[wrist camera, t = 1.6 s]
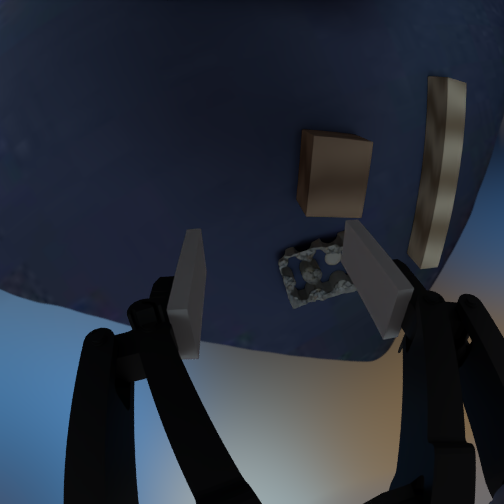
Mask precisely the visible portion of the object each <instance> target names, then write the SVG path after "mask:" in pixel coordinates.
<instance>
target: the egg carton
mask: <svg viewBox="0 0 504 504" xmlns="http://www.w3.org/2000/svg"><path fill="white" fill-rule="evenodd" d="M344 233H345V231H342V232H339V233H337V237H336V239H335V240H334V241H333V242H331V243H328V244H327V243H323V242H322V241H321V240H320V239H317V240H315V241H313V242H312V243H311V246H310V248H309V249H308V250H306V251H303V252H299V251H297V250H295V248H294V247H291V248H288V249H286V250H285V255H284V256H283V257H282V258H281V259H279V262H278V264H279V269H280V272H281V275H282V277H283V281H284V284H285V287H286V291H287V293H288V298H289V300H290V303H291V305H292V307H293V309H296V308H298V307H300V306H302V305H305V304H307V303H308V302H311V301H313V302H315V301H316V300H322V301H323V300H325V299H327V298H330V297H334V296H337V295H339V294H343V293H349V292H354V291H357V289H356V287H355V286H354V284H353V282H352V280H351V278H350V277H349V275H346V274H345V273H344V272H343V271H335V272H334V273H332V274H331V276H330V278H329V281H327V282H324V283H322V282H321V281H320V279H321V278H322V272H321V270H320V268H319V266H318V264H317V262H316V260H315V259H313V258H312V257H313V255H314V254H315V252H316V249H320V250H322V251H323V252H325V253H326V256H325V261H326V263H327V264H329V265H336V264H338V263H339V262H340V260H341V258H342V254H341V251H342V250H343V242H344ZM292 256H296V258H298V259H300V260H303V261H302V262H301V263H300V267H299V268H300V271H301V274H302V276H303V279H304V281H306V282H307V283H306V285H305V289H302V290H297V289H296V288H295V287H294V285H295V284H296V281H295V279H294V276H293V273H292V270H291V269H290V268H289V267H287V264H288V258H290V257H292Z"/></svg>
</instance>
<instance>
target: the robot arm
mask: <svg viewBox="0 0 504 504" xmlns="http://www.w3.org/2000/svg"><path fill="white" fill-rule="evenodd" d="M341 263H342V264H343V266H344V268H345V270H346V271H347V273H348V275H349V277H350V278H351V280H352V282H353V284H354V286H355V287H356V289H357V291H358V293H359V295H360V296H361V298H362V300H363V302H364V304H365V306H366V307H367V309H368V311H369V313H370V315H371V317H372V319H373V321H374V323H375V324H376V326H377V328H378V330H379V332H380V334H381V336H382V338H383V339H389V338H394V337H398V335H399V332H400V329H401V327H402V329H403V330H404V332H405V335H404V337H403V340H402V343H401V345H400V347H399V350H398V353H400V352H401V349H402V348H403V396H402V397H403V398H402V417H401V432H400V443H399V453H398V462H397V469H396V474H395V476H394V478H393V480H392V482H391V485H390V488H389V491H387V492H384V493H382V494H380V495H378V496H376V497H375V498H373V499H371V500H369V501H367V502H366V503H364V504H474V503H475V481H476V480H475V479H476V462H475V461H476V460H475V458H476V457H475V448H474V446H473V444H471V443H467V442H466V439H465V426H464V425H465V424H464V410H463V404H464V407H465V410H466V413H467V416H468V419H469V422H470V425H471V429H472V432H473V436H474V439H475V443H476V446H477V450H478V454H479V457H480V462H481V466H482V470H483V474H484V478H485V482H486V484H487V487H488V489H489V492H490V494H491V496H492V498H493V500H492V501H491V502H490V503H489V504H504V338H503V336H502V334H501V333H500V331H499V329H498V327H497V326H496V324H495V323H494V321H493V319H492V318H491V316H490V314H489V313H488V311H487V310H486V308H485V307H484V305H483V304H482V302H481V301H480V300H479V299H478V298H477V297H475V296H474V295H470V294H463V295H461V296H460V297H459V299H458V302H457V303H454V302H445V301H444V299H443V297H442V296H441V295H440V294H438V293H436V292H433V291H427V290H426V289H425V288H424V286H423V285H422V284H421V283H420V281H419V280H418V279H417V278H416V277H415V276H414V274H413V273H412V272H411V271H410V269H409V268H408V267H407V266H406V264H404V263H403V262H401V261H400V260H398V259H394V260H392V259H391V258H390V257H389V256H388V254H387V253H386V252H385V251H384V250H383V248H382V247H381V246H380V245H379V244H378V242H377V241H376V240H375V239H374V238H373V236H372V235H371V234H370V233H369V232H368V231H367V229H366V228H365V227H364V226H363V225H362V224H361V223H360V221H359V220H346V223H345V233H344V242H343V250H342V258H341ZM206 272H207V271H206V264H205V256H204V249H203V241H202V233H201V229H188V230H187V231H186V235H185V239H184V242H183V246H182V250H181V254H180V257H179V261H178V265H177V269H176V273H175V276H170V277H160V278H159V279H158V280H157V281H156V282H155V283H154V284H153V287H152V290H151V294H150V298H149V299H142V300H139V301H137V302H134V303H133V304H132V305H131V306H130V307H129V308H128V310H127V316H128V319H129V322H130V324H131V327H132V330H131V331H129V332H126V333H122V334H118V335H114V333H113V332H112V331H111V330H110V329H108V328H99V329H95V330H93V331H92V332H90V333H89V334H88V335H87V336H86V337H85V340H84V342H83V347H82V351H81V356H80V361H79V366H78V371H77V376H76V381H75V387H74V393H73V399H72V405H71V412H70V420H69V427H68V436H67V446H66V458H65V474H64V504H139V502H138V492H137V479H136V464H135V442H134V381H138V380H142V379H145V378H147V381H148V384H149V387H150V390H151V393H152V396H153V399H154V402H155V405H156V407H157V410H158V413H159V416H160V419H161V421H162V424H163V426H164V429H165V432H166V434H167V437H168V439H169V442H170V444H171V447H172V449H173V452H174V454H175V456H176V459H177V461H178V463H179V466H180V468H181V470H182V472H183V475H184V476H185V478H186V481H187V483H188V485H189V487H190V489H191V492H192V494H193V496H194V498H195V500H196V504H262V503H261V502H260V500H259V499H258V497H257V496H256V494H255V493H254V491H253V490H252V488H251V487H250V486H249V484H248V483H247V482H246V481H245V480H244V478H243V477H242V475H241V473H240V472H239V470H238V468H237V467H236V465H235V463H234V461H233V460H232V458H231V456H230V455H229V453H228V451H227V449H226V447H225V446H224V444H223V442H222V440H221V438H220V437H219V435H218V433H217V431H216V429H215V427H214V425H213V423H212V421H211V420H210V418H209V416H208V414H207V412H206V410H205V408H204V406H203V404H202V402H201V400H200V398H199V396H198V394H197V392H196V390H195V387H194V385H193V383H192V381H191V379H190V377H189V375H188V373H187V370H186V368H185V366H184V364H183V362H182V359H199V348H200V336H201V324H202V313H203V302H204V291H205V281H206ZM469 336H470V338H471V340H472V342H471V343H470V344H469V343H468V341H467V339H468V338H469Z"/></svg>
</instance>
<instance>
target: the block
mask: <svg viewBox="0 0 504 504" xmlns="http://www.w3.org/2000/svg"><path fill="white" fill-rule="evenodd" d="M372 147H373V142H371V141H369V140H367V139H364V138H362V137H360V136H357V135H355V134H347V133H339V132H329V131H318V130H306V129H302V137H301V151H300V163H299V175H298V187H297V198H296V200H297V201H298V203H299V205H300V207H301V208H302V210H303V212H304V214H305V215H306V216H311V217H348V218H361V217H362V211H363V206H364V200H365V194H366V188H367V182H368V176H369V169H370V162H371V155H372Z"/></svg>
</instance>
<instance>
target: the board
mask: <svg viewBox="0 0 504 504" xmlns="http://www.w3.org/2000/svg"><path fill="white" fill-rule="evenodd" d="M465 109H466V83H464V82H461V81H458V80H455V79H451V78H448V77H431V76H428V100H427V120H426V135H425V146H424V156H423V165H422V173H421V180H420V187H419V194H418V200H417V206H416V212H415V217H414V222H413V228H412V233H411V237H410V242H409V247H408V251H407V254H408V255H409V256H410V257H411V259H412V260H413V261H414V262H415V263H416V264H417V265H418V267H419V268H420V269H424V268H433V267H438V264H439V261H440V257H441V253H442V250H443V246H444V242H445V238H446V234H447V230H448V226H449V222H450V217H451V213H452V208H453V203H454V198H455V193H456V187H457V181H458V175H459V168H460V161H461V154H462V145H463V136H464V124H465Z"/></svg>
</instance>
